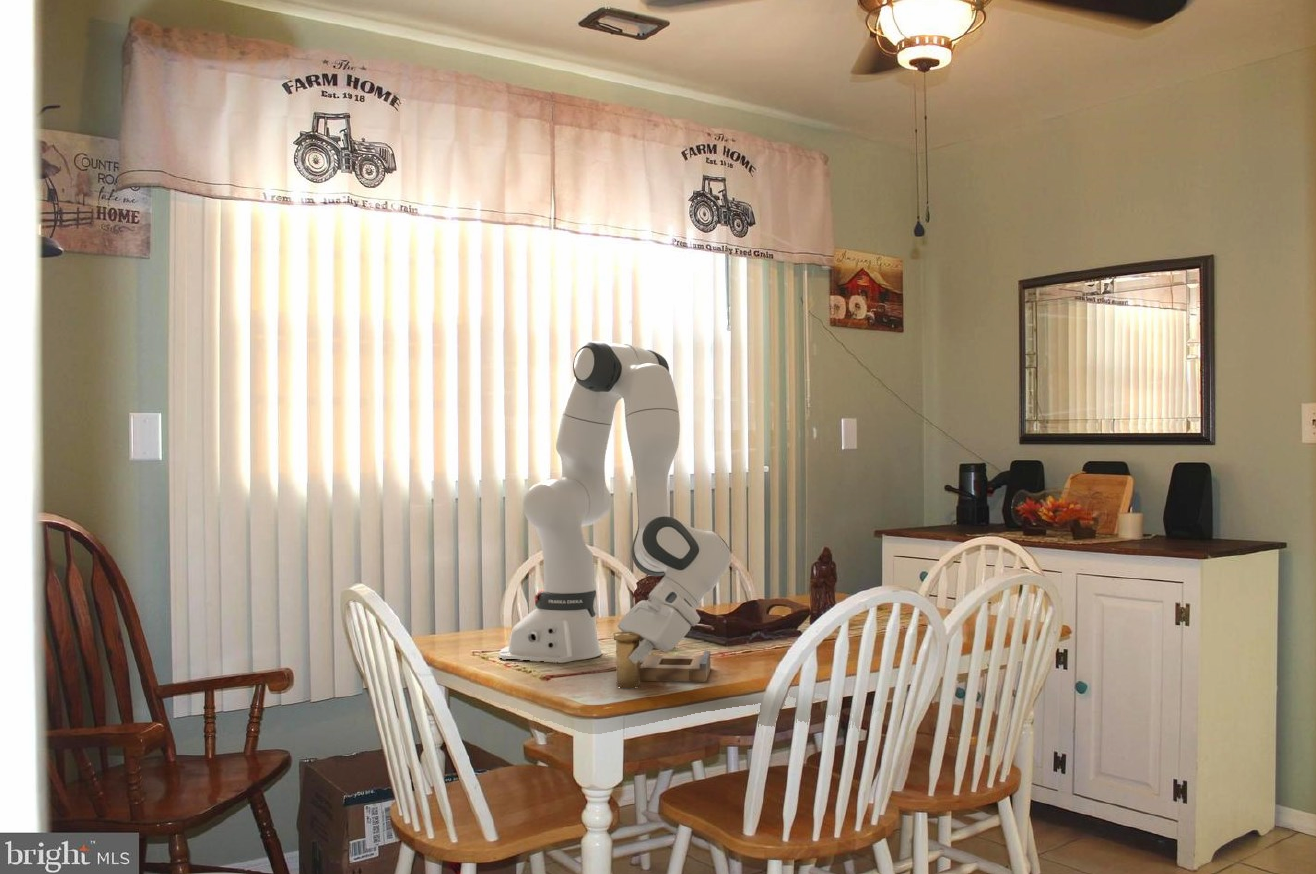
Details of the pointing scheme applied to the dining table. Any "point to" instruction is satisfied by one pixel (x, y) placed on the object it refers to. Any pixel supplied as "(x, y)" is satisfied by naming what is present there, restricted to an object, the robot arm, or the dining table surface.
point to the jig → (675, 668)
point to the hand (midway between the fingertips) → (624, 658)
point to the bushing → (625, 668)
